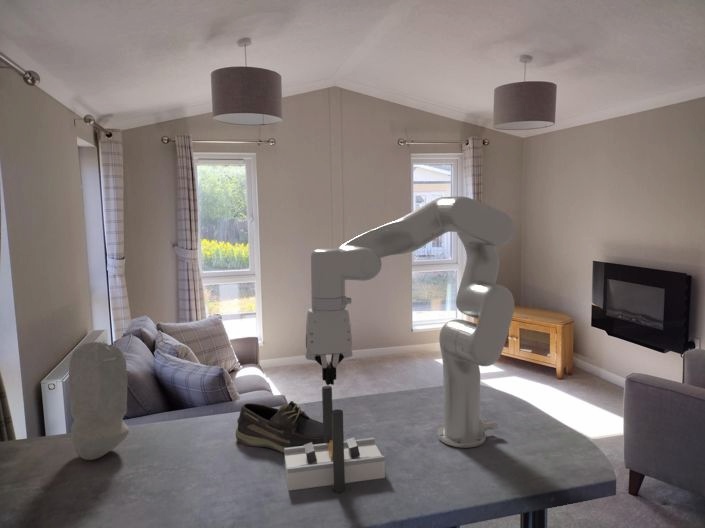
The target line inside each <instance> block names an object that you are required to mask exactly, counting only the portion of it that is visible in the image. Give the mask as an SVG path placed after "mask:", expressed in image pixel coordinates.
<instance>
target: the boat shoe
mask: <svg viewBox="0 0 705 528" xmlns="http://www.w3.org/2000/svg"><path fill="white" fill-rule="evenodd" d="M236 422H237V427H236V430H235V439H236V440H237V441H236V442H238V443H239V444H241V445H244V446H249V447H257V448H258V447H260V448H261V447H262V448H264V447H265V448H270V449H272V450H276V451H277V452H279V453H282V454H284V448H289V447H298V446H304V445H305V444H308V443H311V442H312V444H313V445H315V444H323V443H324V437H323V422H321V421H318V420H315V419H313V418H310V416H309V415H307V413H305V411H304V410H302V409H301V407H300V406H298V403H296V402H294V401H289V403H284V404H281V406H280V407H279V408H275V407H272V406H268V405H265V404H259V403H253V402H252V403H244V404H243V405H242V406H241V408H240V412H239V416H238V418H237V420H236Z"/></svg>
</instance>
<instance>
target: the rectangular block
mask: <svg viewBox="0 0 705 528" xmlns="http://www.w3.org/2000/svg"><path fill="white" fill-rule="evenodd" d="M328 451H329V454H330V457H331V459H333V440H330V442H329V448H328Z"/></svg>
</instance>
